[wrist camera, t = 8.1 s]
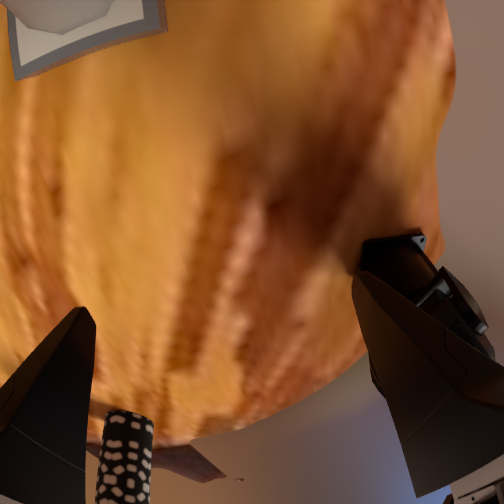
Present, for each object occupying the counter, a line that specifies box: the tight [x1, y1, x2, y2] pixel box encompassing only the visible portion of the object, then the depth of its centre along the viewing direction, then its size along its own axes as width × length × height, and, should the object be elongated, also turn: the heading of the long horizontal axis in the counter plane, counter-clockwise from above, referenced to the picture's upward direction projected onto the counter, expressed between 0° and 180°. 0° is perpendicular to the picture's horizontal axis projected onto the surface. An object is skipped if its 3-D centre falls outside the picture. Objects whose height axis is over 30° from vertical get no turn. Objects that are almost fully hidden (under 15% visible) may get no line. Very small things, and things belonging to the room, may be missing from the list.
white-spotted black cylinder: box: [95, 411, 154, 504], centre depth 35 cm, size 8×8×20 cm
